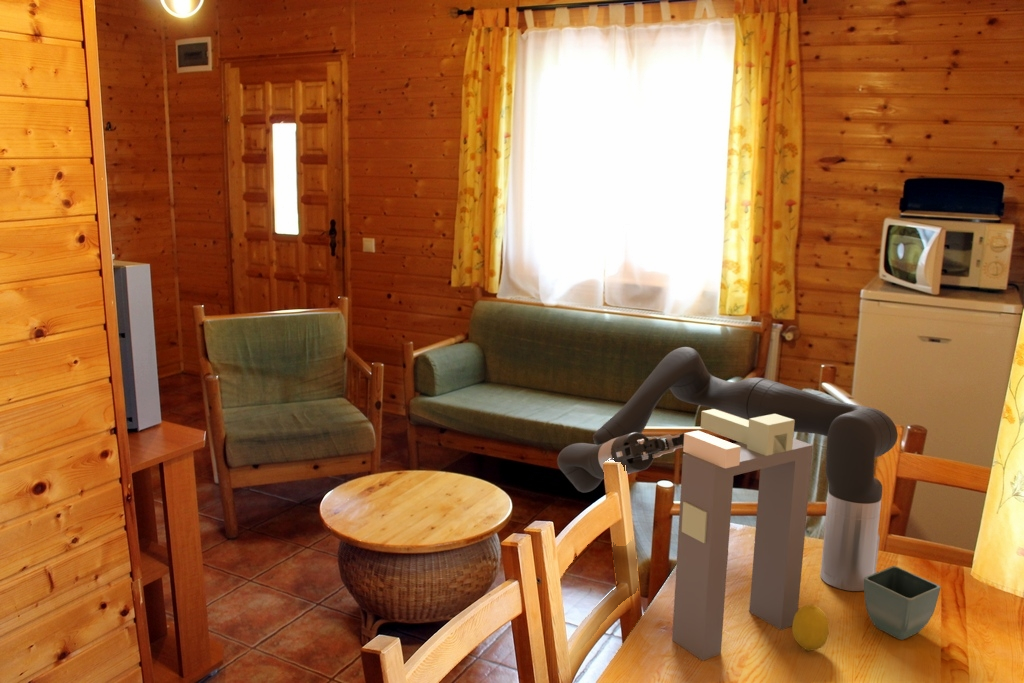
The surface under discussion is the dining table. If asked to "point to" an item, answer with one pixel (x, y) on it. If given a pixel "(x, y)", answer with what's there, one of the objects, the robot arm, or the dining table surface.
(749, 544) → the dining table surface
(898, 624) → the flower pot
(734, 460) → the cream bar
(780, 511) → the grey arch
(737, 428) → the pale yellow block
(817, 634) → the lemon
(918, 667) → the dining table surface
